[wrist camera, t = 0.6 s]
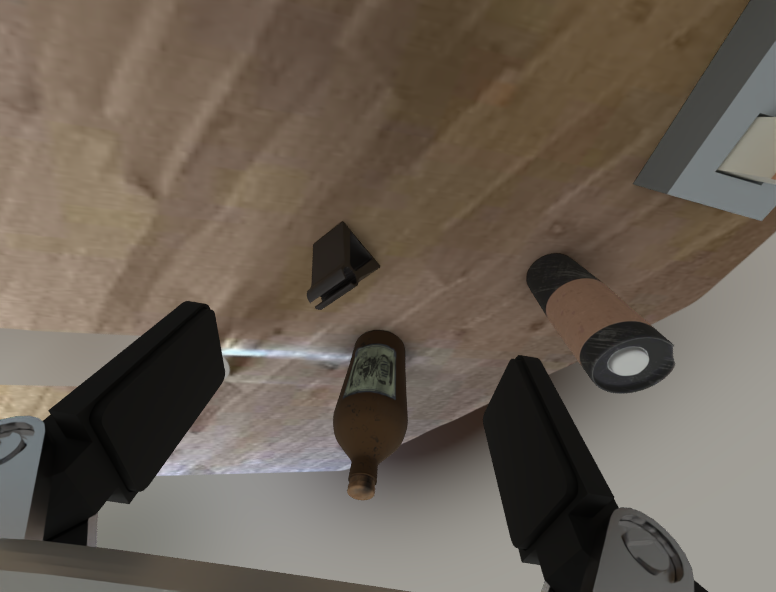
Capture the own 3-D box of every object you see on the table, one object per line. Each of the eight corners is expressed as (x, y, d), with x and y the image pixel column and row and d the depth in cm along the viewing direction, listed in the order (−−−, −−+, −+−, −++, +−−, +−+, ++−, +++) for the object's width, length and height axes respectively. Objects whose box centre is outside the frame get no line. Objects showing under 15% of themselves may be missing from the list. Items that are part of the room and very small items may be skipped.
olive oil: (408, 371, 58) (407, 518, 37) (354, 370, 59) (322, 514, 38) (408, 326, 53) (406, 469, 31) (348, 326, 54) (307, 465, 32)
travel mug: (514, 287, 48) (573, 382, 30) (542, 244, 44) (628, 325, 27) (557, 302, 48) (638, 402, 31) (588, 261, 45) (699, 350, 27)
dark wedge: (380, 266, 47) (372, 307, 37) (351, 285, 49) (336, 329, 39) (343, 220, 44) (322, 251, 34) (313, 243, 46) (285, 279, 36)
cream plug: (712, 116, 34) (842, 115, 24) (752, 128, 35) (897, 133, 24) (680, 163, 37) (784, 181, 27) (717, 174, 37) (835, 195, 27)
